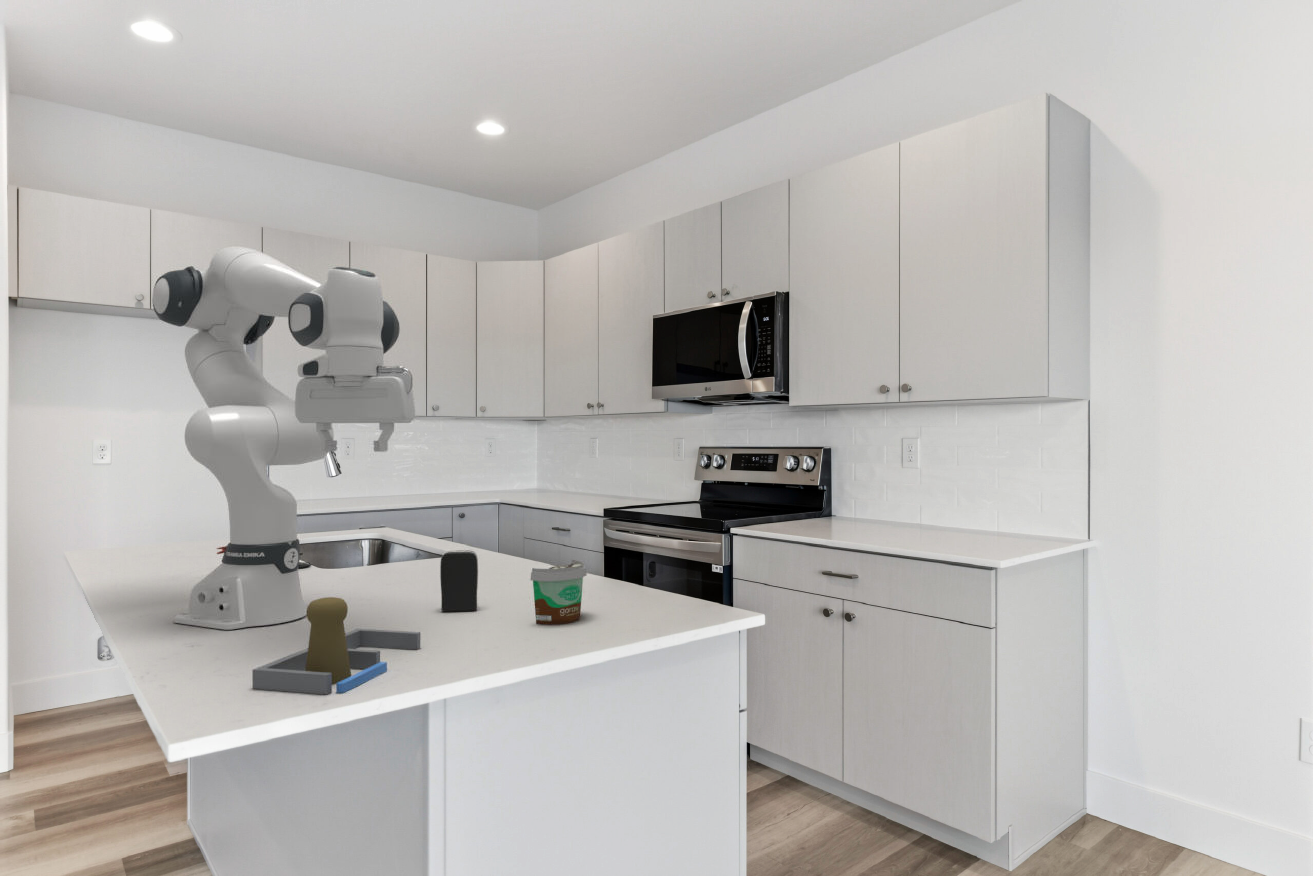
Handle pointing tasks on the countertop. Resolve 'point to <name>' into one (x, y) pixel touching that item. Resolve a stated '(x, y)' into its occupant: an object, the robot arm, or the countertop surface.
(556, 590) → the food container
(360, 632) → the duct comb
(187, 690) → the countertop surface
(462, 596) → the battery charger
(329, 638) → the cork
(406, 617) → the countertop surface
